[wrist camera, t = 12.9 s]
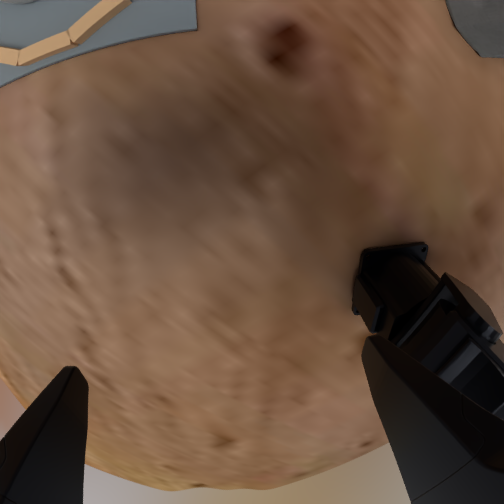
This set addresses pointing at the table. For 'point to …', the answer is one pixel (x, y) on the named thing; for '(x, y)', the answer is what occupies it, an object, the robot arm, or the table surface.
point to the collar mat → (81, 29)
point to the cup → (17, 1)
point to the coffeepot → (480, 24)
